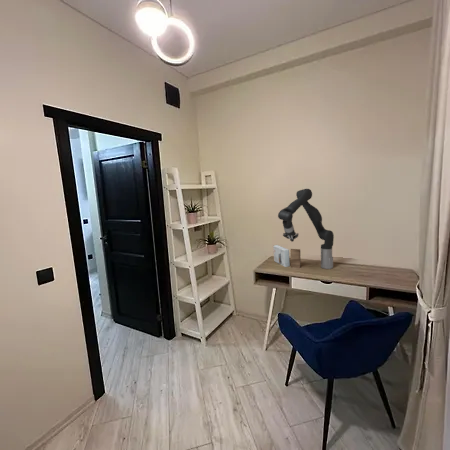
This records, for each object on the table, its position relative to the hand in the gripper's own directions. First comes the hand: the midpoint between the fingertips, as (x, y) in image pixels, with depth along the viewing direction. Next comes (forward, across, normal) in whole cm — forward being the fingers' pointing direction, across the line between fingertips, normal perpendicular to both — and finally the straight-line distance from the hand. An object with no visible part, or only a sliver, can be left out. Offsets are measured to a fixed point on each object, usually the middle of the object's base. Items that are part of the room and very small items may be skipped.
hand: (292, 240), depth 215 cm
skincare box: (+32, +14, +6) cm, 36 cm away
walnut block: (+28, 0, +10) cm, 30 cm away
